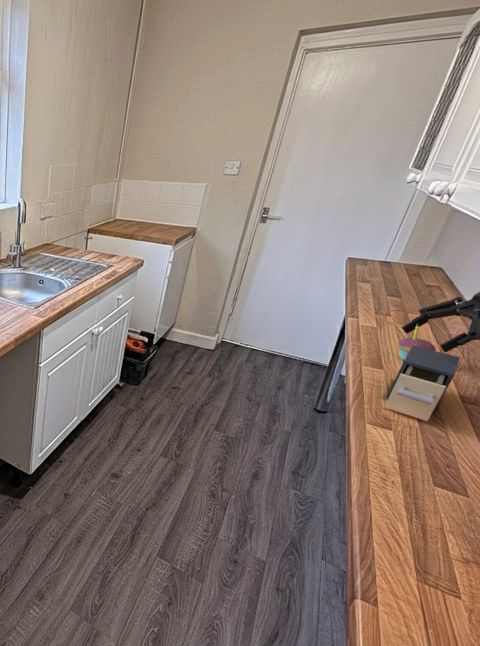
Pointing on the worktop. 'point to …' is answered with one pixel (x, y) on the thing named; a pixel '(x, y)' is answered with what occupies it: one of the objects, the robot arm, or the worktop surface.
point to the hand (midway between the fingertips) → (422, 339)
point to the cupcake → (413, 344)
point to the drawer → (417, 392)
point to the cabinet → (429, 365)
